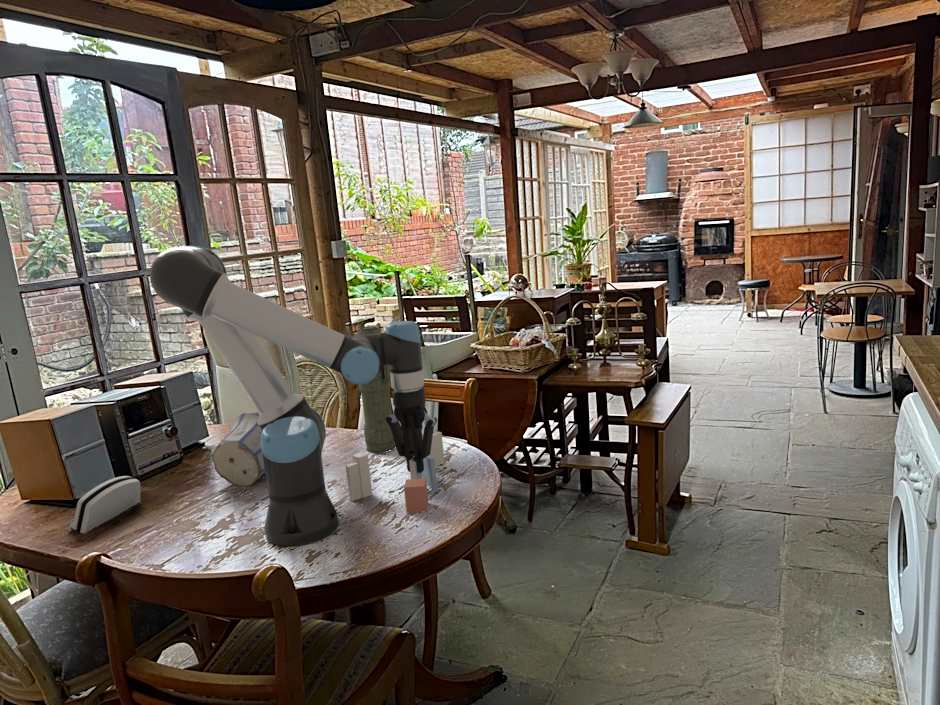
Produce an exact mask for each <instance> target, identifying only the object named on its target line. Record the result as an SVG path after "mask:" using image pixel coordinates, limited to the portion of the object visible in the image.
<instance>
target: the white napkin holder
mask: <svg viewBox="0 0 940 705" xmlns="http://www.w3.org/2000/svg"><path fill="white" fill-rule="evenodd" d="M139 502H140V503H141V482H140V480H138V479H137V478H133V477H132V476H129V475H122V476H117V477H113V478H111V479H108V480H106V481H104V482H102V483H100V484H98V485H96V486H95V487H93V488H92V489H91V490H89V491H88V492H86V493H85V494H84V495H83V496H81V498H79V500H78V501H77V504H76V507H75V513H74V518H73V522H71V523H70V524H69V525H68V532H69V533H70V532H72V531H77V530H79V532H80V533H81V534H87V533H89V532H90V531H92V530H94V529H95V527H96V528H97V527H99V526H101V525H103V524H104V522H105V523H107V522H108V521H110V520H112V519H114V518H115V516H116V517H117V516H119V515H121V514H123V513H124V512H123V511H125V510H126V511H128V510H129V509H128V508H130V507H132V506H134V505H136V504H137V503H139ZM140 503H139V504H140ZM137 505H138V504H137ZM137 505H136V506H137ZM134 507H135V506H134ZM132 508H133V507H132ZM127 509H128V510H127ZM130 509H131V508H130ZM126 511H125V512H126ZM122 512H123V513H122ZM120 513H121V514H120ZM118 514H119V515H118ZM113 517H114V518H113ZM111 518H112V519H111ZM109 519H110V520H109ZM107 520H108V521H107ZM106 521H107V522H106ZM102 523H103V524H102ZM100 524H101V525H100ZM93 528H94V529H93Z"/></svg>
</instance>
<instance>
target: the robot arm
mask: <svg viewBox="0 0 940 705" xmlns="http://www.w3.org/2000/svg"><path fill="white" fill-rule="evenodd" d="M227 274H228V273H227V269H226V266H225V264H224V262H223V260H222V259H221V257H220V256H219V255H218V254H217V253H216V252H214V251H212V250H211V249H209V248H206V247H205V246H204V247H203V246H200V245H194V244H193V245H184V246H183V247H179V246H178V247H172V248H168V249H167V250H166V249H165V250H164V251H163V252H161V253H159V255H157V256H156V258H154V260H153V262H152V264H151V266H150V271H149V280H150V284H151V288H153V291H154V292H155V293H156V295H158V297H159V298H161V299H162V301H165V302H166V303H168V304H169V305H172V306H175V307H178V308H180V309H181V311H182V312H183V313H184V315H185V317H186V318H187V319H189V320H192V321H196V322H198V323H199V325H200V326H201V327H202V329H203V330H204V332H205V333H206V335H207V336H208V338H209V339H210V341H211V342H212V344H213V345H214V347H215V348H216V350H217V352H218V353H219V354H220V356H221V358H222V359H223V360H224V362H225V364H226V365H227V367H228V368H229V370H230V371H231V372H232V374H233V376H234V377H235V379H236V380H237V381H238V383H239V385H240V386H241V388H242V389H243V390H244V392H245V394H246V396H247V397H248V398H249V400H250V401H251V403H252V404H253V406H254V408H255V409H256V411H257V412H259V419H258V425H259V426H260V428H261V429H262V432H261V443H260V447H261V451H262V454H263V461H264V467H265V473H264V475H265V479H266V480H265V481H266V486H267V493H268V498H269V500H268V508H267V513H266V518H265V522H264V523H265V524H264V530H265V531H264V532H265V538H266V540H267V541H268V542H269V543H271V544H273V545H276V546H280V547H281V546H282V547H295V546H303V545H307V544H312V543H314V542H317V541H319V540H322V539H324V538H327V537H328V536H330V535H331V534H332V533H334V532H335V531H336V530H337V528H338V527H339V516H338V512H337V509H336V508H335V505H334V503H333V502H332V500H331V498H330V496H329V494H328V492H327V489H326V481H325V475H324V467H323V458H322V454H323V449H324V444H325V441H326V436H327V435H326V434H327V430H326V424H325V421H324V420H323V417H321V415H320V413H319V412H318V411H317V410H315V409H314V408H312V407H311V406H310V404H309V402H308V401H307V400H306V398H305V397H304V395H302V394H300V393H299V394H298V393H295V392H294V391H292V389H291V387H290V386H289V384H288V382H287V381H286V379H285V378H284V376H283V375H282V374H281V372H280V370H279V369H278V367H277V365H276V364H275V363H274V361H273V359H272V357H271V355H269V353H268V352H267V350H266V348H265V347H264V345H263V344H262V342H261V340H260V339H263V340H265V341H268V342H269V343H272V344H274V345H276V346H279V347H281V348H284V349H286V350H288V351H291V352H293V354H294V353H295V354H297V355H299V356H301V357H304V358H306V359H309V360H310V361H313V362H315V363H318V364H320V365H322V366H324V367H326V368H328V369H330V370H332V371H334V372H337V373H339V374H342V376H343V377H344V378H345V379H346V380H347V381H348V382H350V383H352V384H355V385H359V384H366V383H368V382H370V381H371V380H372V379H373V378H374V377H375V376H376V375H377V372H378V369H379V366H386V365H389V366H390V376H391V379H390V385H391V387H390V388H392V391H391V394H392V405H393V407H394V409H393V412H392V415H390V416H388V417H386V421H387V423H388V424H389V426H390V428H391V431H392V435H393V438H394V441H395V444H396V450H397V454H398V456H399V457H404V459H406V468H407V472H409V474H410V479H422V478H423V477H422V472H423V471H424V462H423V459H424V458H426V457H427V456H429V455H430V452H431V445H432V437H433V434H434V430H435V429H434V428H435V425H436V423H437V422H438V418H437V417H434V416H433V417H432V416H431V415H429V414H428V410H427V408H426V402H427V401H426V393H425V392H426V390H425V389H426V388H424V385H425V380H424V369H423V357H422V346H421V344H422V343H421V336H420V329H419V325H418V324H417V323H416V322H415V321H412V320H402V321H396V322H395V321H394V322H392V321H391V322H389V323H387V324H386V325H385V332H384V331H383V332H381V333H379V334H367V335H357V334H355V335H347V336H346V335H345V334H343V333H341V332H339V331H336V330H334V329H331V328H330V327H328V326H326V325H323V324H321V323H320V322H317V321H315V320H313V319H311V318H308V317H306V316H304V315H302V314H300V313H297V312H296V311H293V310H292V309H289V308H287V307H285V306H282V305H281V304H278V303H276V302H274V301H272V300H270V299H268V298H266V297H264V296H261V295H259V294H256V293H255V292H252V291H250V290H248V289H247V288H244V287H241V286H239V285H238V284H236V283H233V282H231V280H230V279H229V277H228V276H227ZM258 337H259V338H260V339H259V338H258ZM423 425H424V426H423ZM423 427H424V428H423ZM423 430H424V433H423V439H422V431H423Z"/></svg>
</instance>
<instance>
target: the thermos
mask: <svg viewBox="0 0 940 705" xmlns="http://www.w3.org/2000/svg"><path fill="white" fill-rule="evenodd" d="M379 333H382V331H381V328H380V327H378V326H376V325H371V326H363V327H359V329H358V330H357V332H356V335H367V334H379ZM358 388H359V392H360V394H361V399H362V407H363V408H362V410H363V418H364V424H363V434H364V442H365V444H366V451H367V452H368V453H371V454H381V453H380V452H385V453H387V452H386V451H389V450H392V449H394V448H395V447H396V444H395V441H394V438H393V435H392V431H391V428H390V426H389V424H388V423H387V421H386V417H388V416H390V415H392V414H393V410H392V403H391V402H392V401H391V394H390V391H391V388H392V387H391V376H390V366H389V365H386V366H379V369H378V372H377V375H376V376H375V377H374V378H373V379H372V380H371V381H370V382H368V383H366V384H358ZM394 450H395V449H394ZM392 451H393V450H392ZM389 452H390V451H389Z"/></svg>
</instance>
